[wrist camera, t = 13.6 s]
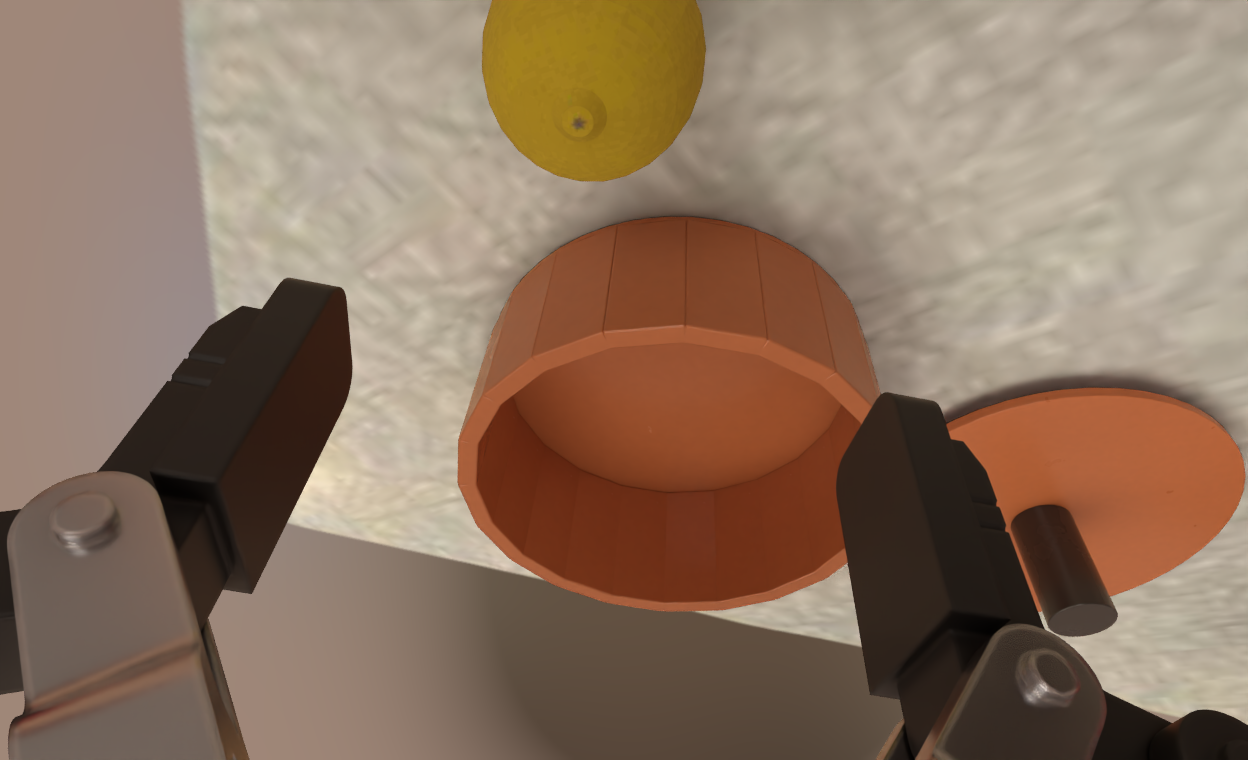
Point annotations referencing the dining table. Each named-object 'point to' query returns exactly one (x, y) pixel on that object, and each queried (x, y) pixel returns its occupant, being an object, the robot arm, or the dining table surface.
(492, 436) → the pan
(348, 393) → the robot arm
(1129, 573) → the lid
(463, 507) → the dining table surface
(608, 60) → the lemon
